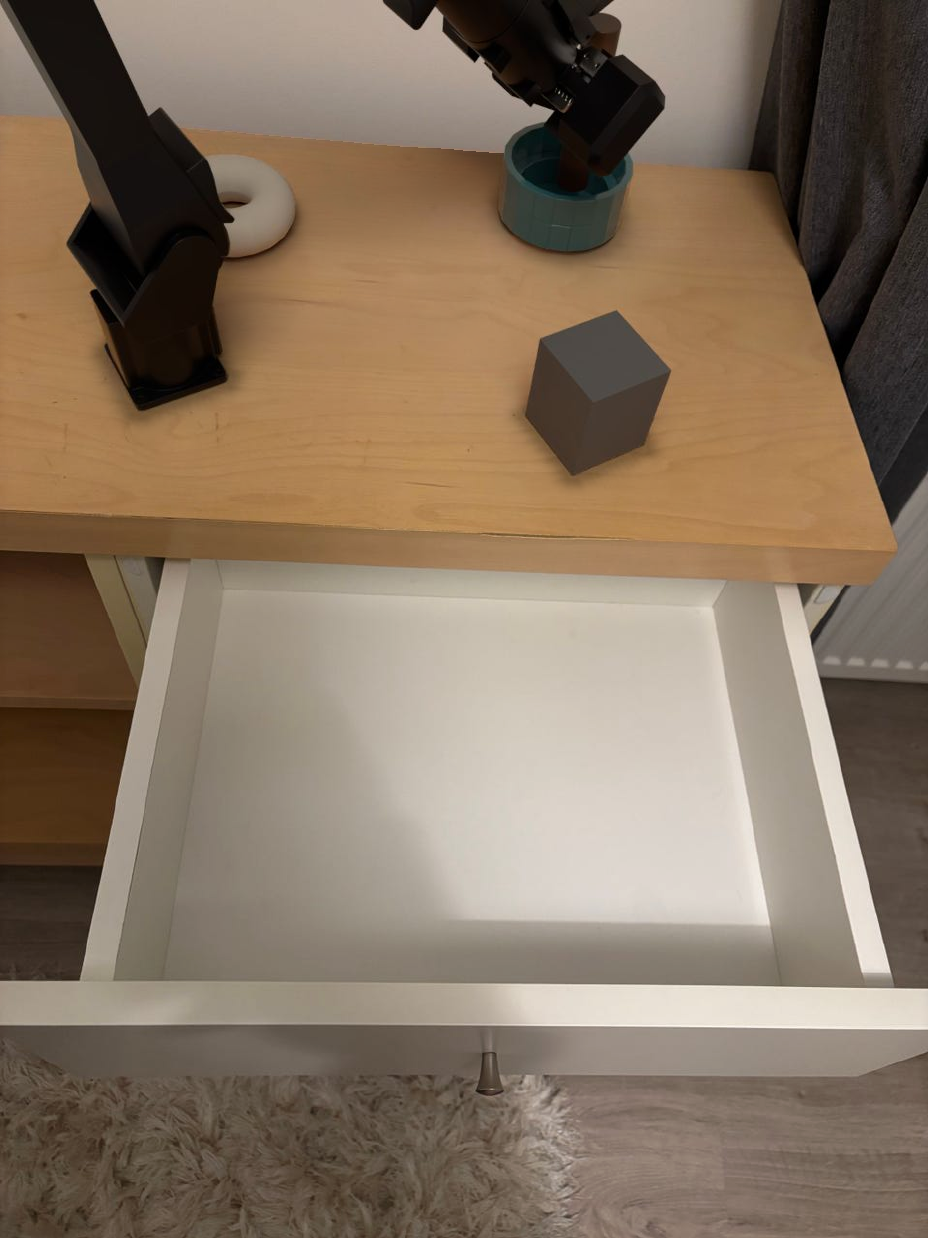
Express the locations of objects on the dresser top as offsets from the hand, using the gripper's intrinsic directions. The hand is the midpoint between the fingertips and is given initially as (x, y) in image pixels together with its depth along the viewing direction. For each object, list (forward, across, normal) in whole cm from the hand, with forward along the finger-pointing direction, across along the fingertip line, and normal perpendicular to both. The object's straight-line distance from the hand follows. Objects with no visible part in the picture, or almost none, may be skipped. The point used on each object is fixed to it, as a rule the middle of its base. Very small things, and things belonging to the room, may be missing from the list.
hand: (596, 122), depth 69 cm
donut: (-13, +11, +24) cm, 29 cm away
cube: (-5, -20, +15) cm, 26 cm away
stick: (+2, 0, +4) cm, 5 cm away
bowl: (+3, 0, +7) cm, 7 cm away
